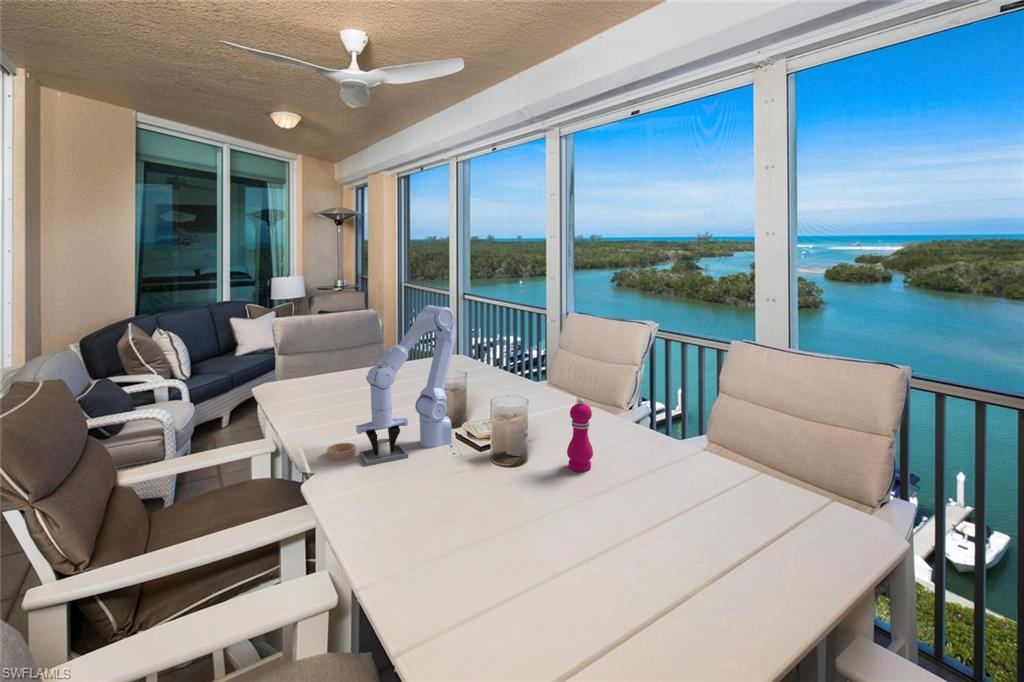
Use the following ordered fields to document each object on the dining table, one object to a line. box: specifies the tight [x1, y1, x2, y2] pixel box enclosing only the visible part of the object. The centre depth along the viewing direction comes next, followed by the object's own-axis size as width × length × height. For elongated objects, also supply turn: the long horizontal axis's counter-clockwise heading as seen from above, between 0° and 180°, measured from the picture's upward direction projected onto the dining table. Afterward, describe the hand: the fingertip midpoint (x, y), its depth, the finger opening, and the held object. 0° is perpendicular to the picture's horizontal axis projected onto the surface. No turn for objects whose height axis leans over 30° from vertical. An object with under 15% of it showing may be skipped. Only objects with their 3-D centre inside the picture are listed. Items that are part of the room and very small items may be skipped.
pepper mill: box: [566, 398, 594, 473], centre depth 135 cm, size 7×7×20 cm
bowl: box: [326, 442, 357, 461], centre depth 144 cm, size 8×8×3 cm
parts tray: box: [358, 443, 409, 467], centre depth 143 cm, size 12×9×2 cm
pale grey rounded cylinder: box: [377, 438, 391, 459], centre depth 142 cm, size 4×4×5 cm
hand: (383, 452), depth 143 cm, fingers closed on pale grey rounded cylinder, 4 cm apart
